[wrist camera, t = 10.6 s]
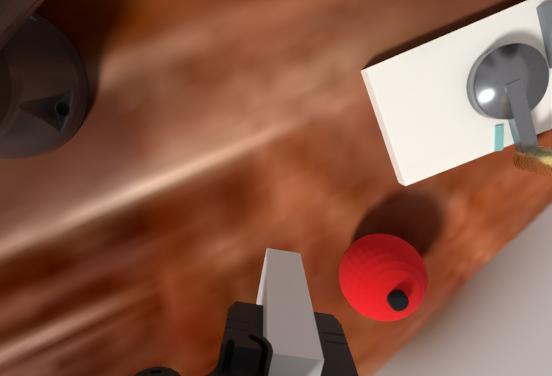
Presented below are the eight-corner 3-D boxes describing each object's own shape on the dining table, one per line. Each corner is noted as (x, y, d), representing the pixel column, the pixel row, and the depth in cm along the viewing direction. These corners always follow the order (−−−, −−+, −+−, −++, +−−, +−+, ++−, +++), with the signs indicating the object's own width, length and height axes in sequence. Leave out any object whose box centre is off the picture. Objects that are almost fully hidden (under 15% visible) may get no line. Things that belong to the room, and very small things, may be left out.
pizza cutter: (457, 63, 34) (531, 45, 24) (527, 34, 33) (629, 3, 24) (491, 180, 36) (569, 205, 27) (556, 155, 36) (659, 171, 26)
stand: (360, 70, 36) (370, 66, 32) (547, -8, 35) (579, -23, 31) (398, 183, 39) (412, 191, 35) (573, 114, 37) (606, 115, 34)
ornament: (421, 264, 41) (468, 312, 31) (360, 305, 42) (386, 364, 33) (380, 207, 40) (415, 238, 30) (317, 251, 41) (331, 296, 31)
